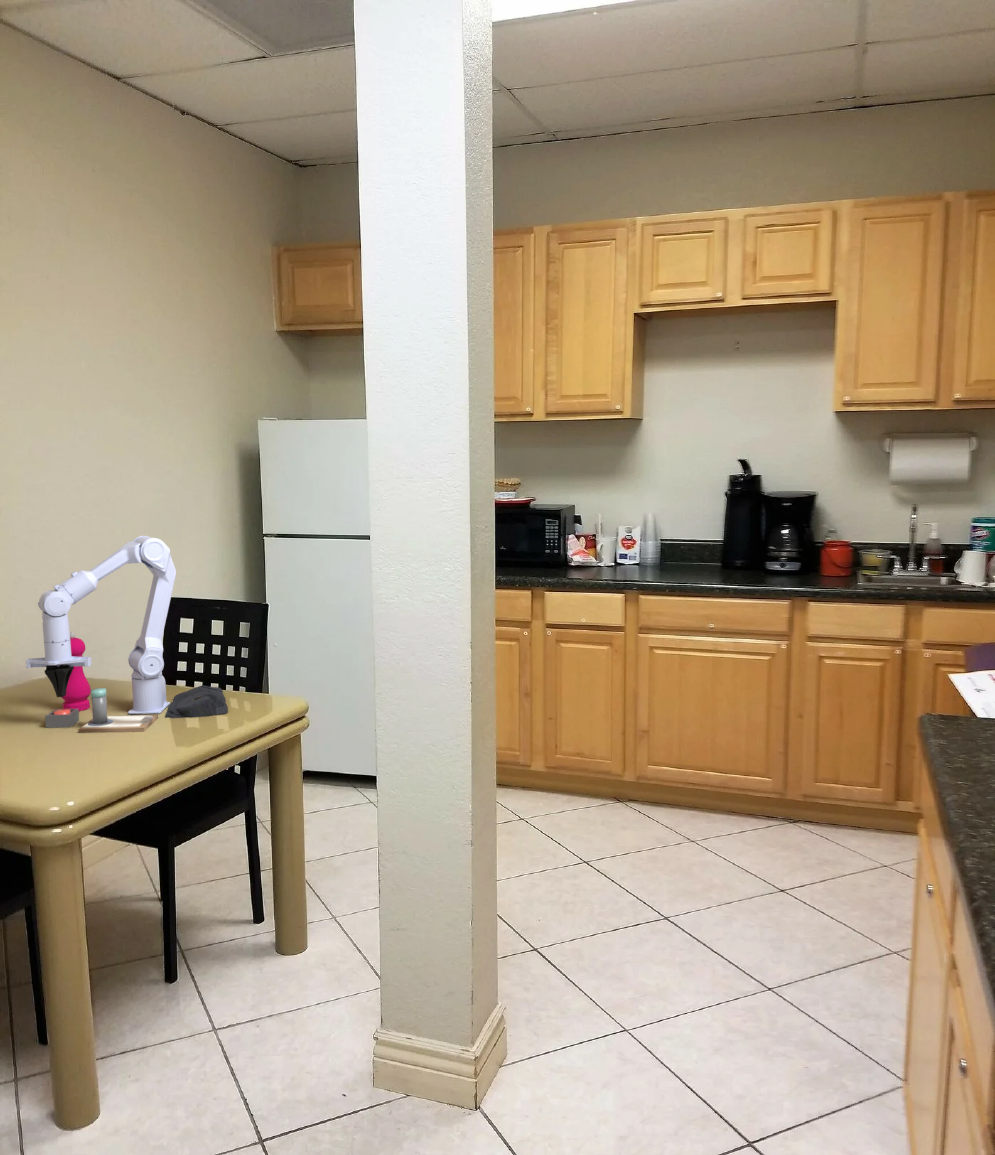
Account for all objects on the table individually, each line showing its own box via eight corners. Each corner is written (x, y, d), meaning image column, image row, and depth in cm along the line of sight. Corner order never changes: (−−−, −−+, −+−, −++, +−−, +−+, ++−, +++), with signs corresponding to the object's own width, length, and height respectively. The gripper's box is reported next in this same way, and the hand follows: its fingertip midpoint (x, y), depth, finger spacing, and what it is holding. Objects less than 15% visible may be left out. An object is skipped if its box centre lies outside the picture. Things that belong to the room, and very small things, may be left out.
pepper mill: (54, 711, 236) (49, 633, 234) (73, 704, 243) (68, 628, 241) (79, 713, 235) (74, 635, 232) (98, 705, 242) (93, 629, 239)
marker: (95, 720, 224) (93, 688, 223) (109, 720, 224) (108, 687, 223) (90, 724, 221) (88, 691, 220) (105, 724, 221) (103, 691, 220)
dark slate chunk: (230, 695, 254) (230, 678, 253) (227, 717, 232) (227, 698, 232) (171, 699, 250) (170, 681, 249) (163, 721, 229) (162, 703, 228)
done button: (57, 717, 227) (57, 709, 226) (73, 716, 227) (72, 708, 227) (51, 721, 223) (51, 713, 223) (67, 720, 223) (66, 712, 223)
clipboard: (95, 719, 229) (95, 713, 229) (158, 718, 230) (157, 711, 230) (78, 732, 218) (78, 726, 218) (144, 731, 219) (143, 724, 219)
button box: (55, 721, 228) (54, 709, 227) (79, 720, 228) (78, 708, 228) (46, 727, 222) (45, 715, 222) (70, 727, 223) (69, 715, 222)
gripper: (18, 644, 218) (23, 701, 220) (82, 643, 219) (86, 699, 221) (31, 638, 225) (35, 693, 227) (93, 637, 226) (96, 692, 228)
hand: (61, 696), depth 224 cm, fingers closed
